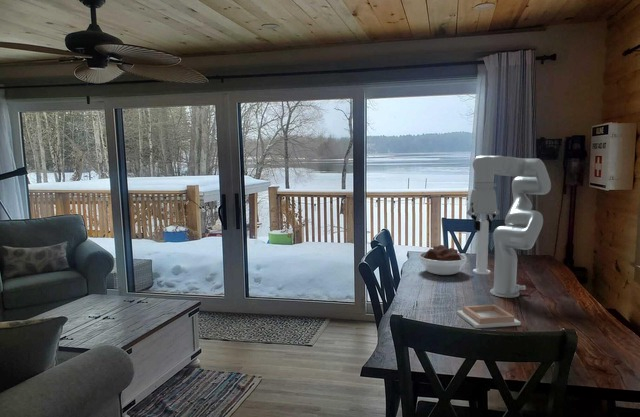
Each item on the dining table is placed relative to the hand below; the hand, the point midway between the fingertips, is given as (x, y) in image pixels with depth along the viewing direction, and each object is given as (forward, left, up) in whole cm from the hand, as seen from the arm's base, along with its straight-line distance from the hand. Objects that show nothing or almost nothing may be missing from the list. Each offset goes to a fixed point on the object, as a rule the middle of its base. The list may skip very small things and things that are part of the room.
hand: (482, 229), depth 189 cm
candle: (0, 0, -19) cm, 19 cm away
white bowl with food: (-6, -53, -33) cm, 63 cm away
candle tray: (+5, +16, -33) cm, 37 cm away
